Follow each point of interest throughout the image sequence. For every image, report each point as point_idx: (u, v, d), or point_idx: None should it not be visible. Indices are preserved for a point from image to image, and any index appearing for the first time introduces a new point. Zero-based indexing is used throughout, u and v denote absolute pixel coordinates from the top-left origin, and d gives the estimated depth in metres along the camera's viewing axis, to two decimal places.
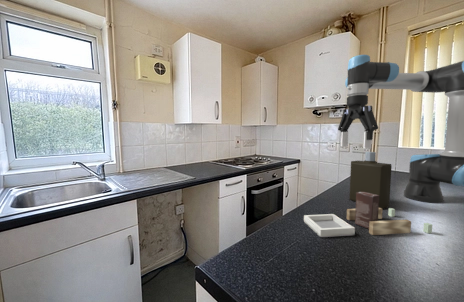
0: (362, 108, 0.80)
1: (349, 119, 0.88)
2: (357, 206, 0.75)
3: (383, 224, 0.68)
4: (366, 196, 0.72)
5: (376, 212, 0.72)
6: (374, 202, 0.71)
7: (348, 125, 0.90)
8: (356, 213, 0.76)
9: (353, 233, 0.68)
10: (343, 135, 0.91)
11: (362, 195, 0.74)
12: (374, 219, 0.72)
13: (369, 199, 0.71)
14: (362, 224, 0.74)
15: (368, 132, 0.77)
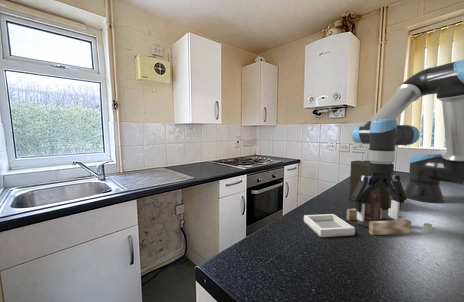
0: None
1: None
2: None
3: (383, 224, 0.68)
4: (368, 196, 0.73)
5: (378, 212, 0.72)
6: (376, 201, 0.71)
7: (392, 194, 0.75)
8: None
9: (353, 233, 0.68)
10: (392, 204, 0.76)
11: None
12: (376, 219, 0.72)
13: (371, 199, 0.72)
14: (364, 224, 0.74)
15: None
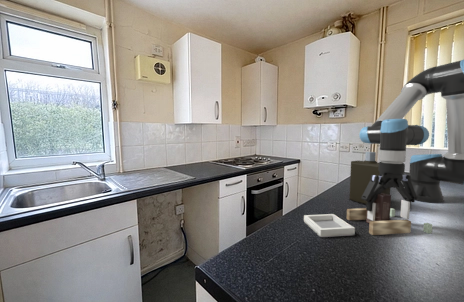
0: None
1: None
2: None
3: (383, 224, 0.68)
4: None
5: (387, 211, 0.72)
6: (384, 201, 0.72)
7: (403, 193, 0.75)
8: None
9: (353, 233, 0.68)
10: (402, 204, 0.77)
11: None
12: (385, 218, 0.72)
13: (379, 198, 0.72)
14: None
15: None
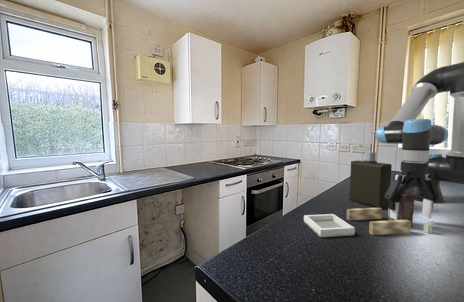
0: None
1: None
2: None
3: (383, 224, 0.68)
4: None
5: (409, 211, 0.73)
6: (407, 200, 0.72)
7: (425, 193, 0.76)
8: (389, 210, 0.78)
9: (353, 233, 0.68)
10: (424, 203, 0.78)
11: None
12: (407, 217, 0.73)
13: (402, 197, 0.73)
14: None
15: None
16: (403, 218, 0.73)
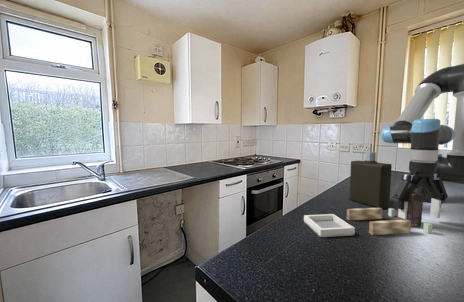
0: None
1: None
2: None
3: (383, 224, 0.68)
4: None
5: (418, 210, 0.73)
6: (415, 200, 0.73)
7: (433, 192, 0.76)
8: (398, 210, 0.78)
9: (353, 233, 0.68)
10: (432, 202, 0.78)
11: None
12: (416, 217, 0.73)
13: (410, 197, 0.73)
14: None
15: None
16: (412, 218, 0.73)
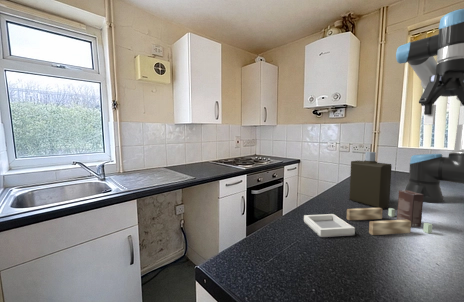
0: None
1: (454, 90, 0.71)
2: (399, 203, 0.78)
3: (383, 224, 0.68)
4: (407, 194, 0.75)
5: (418, 210, 0.73)
6: (416, 200, 0.73)
7: (463, 97, 0.70)
8: (398, 210, 0.78)
9: (353, 233, 0.68)
10: (461, 110, 0.71)
11: (404, 193, 0.76)
12: (416, 217, 0.73)
13: (410, 197, 0.73)
14: None
15: None
16: (412, 218, 0.73)
